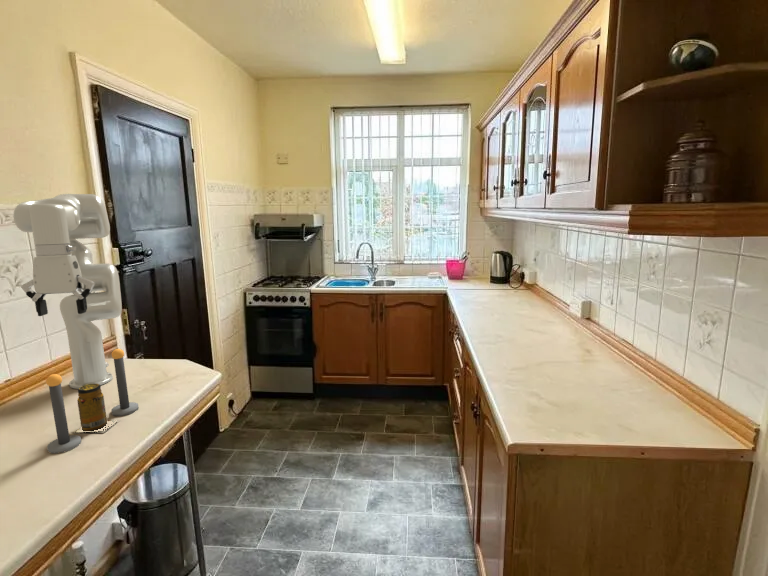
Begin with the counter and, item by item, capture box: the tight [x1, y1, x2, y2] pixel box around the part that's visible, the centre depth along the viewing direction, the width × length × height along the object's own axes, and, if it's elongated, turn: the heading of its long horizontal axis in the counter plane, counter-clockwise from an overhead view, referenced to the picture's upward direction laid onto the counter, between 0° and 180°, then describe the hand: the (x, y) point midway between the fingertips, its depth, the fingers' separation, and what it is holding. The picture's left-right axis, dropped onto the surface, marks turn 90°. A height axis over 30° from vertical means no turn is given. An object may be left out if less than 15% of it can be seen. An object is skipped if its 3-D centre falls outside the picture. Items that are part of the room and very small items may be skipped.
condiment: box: [73, 384, 121, 434], centre depth 119 cm, size 7×8×12 cm
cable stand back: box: [111, 348, 139, 417], centre depth 128 cm, size 7×7×20 cm
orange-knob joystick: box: [45, 373, 82, 454], centre depth 109 cm, size 7×7×20 cm
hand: (62, 314), depth 116 cm, fingers open, 9 cm apart
